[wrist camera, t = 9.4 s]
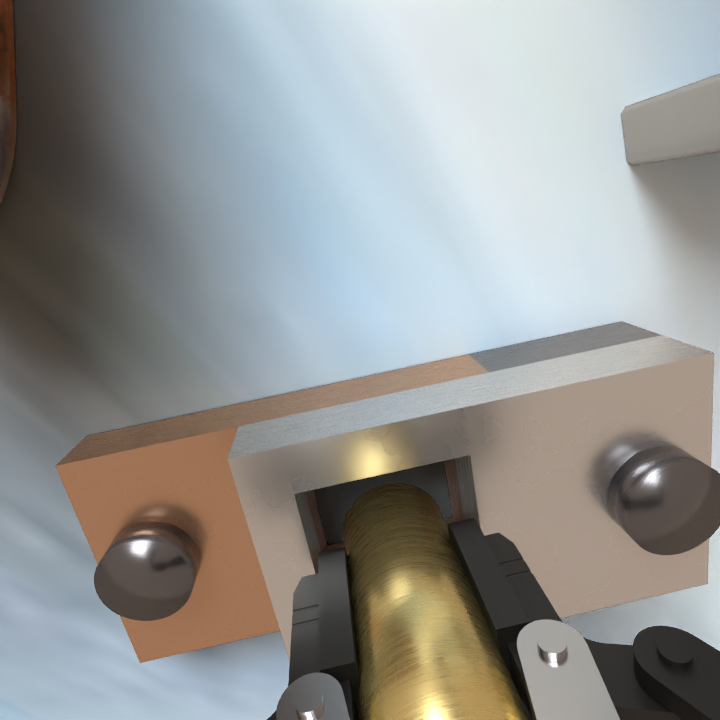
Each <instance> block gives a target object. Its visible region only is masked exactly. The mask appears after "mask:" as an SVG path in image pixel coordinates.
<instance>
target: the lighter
mask: <svg viewBox="0 0 720 720" xmlns="http://www.w3.org/2000/svg"><path fill="white" fill-rule="evenodd" d="M621 119H622V127H623V135H624V142H625V150H626V158H627V162H628V163H630V164H631V165H639V164H645V163H652V162H658V161H664V160H671V159H677V158H683V157H689V156H696V155H702V154H708V153H715V152H720V74H717V75H714V76H712V77H709V78H706V79H703V80H700V81H697V82H694V83H692V84H689V85H686V86H683V87H680V88H677V89H674V90H672V91H669V92H666V93H663V94H660V95H657V96H654V97H652V98H649V99H646V100H643V101H640V102H637V103H634V104H632V105H629V106H626V107H625V108H624V110H623V112H622V113H621Z"/></svg>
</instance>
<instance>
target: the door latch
mask: <svg viewBox="0 0 720 720" xmlns="http://www.w3.org/2000/svg"><path fill="white" fill-rule="evenodd" d="M713 374H714V353H713V352H710V351H707V350H704V349H701V348H698V347H695V346H692V345H689V344H686V343H684V342H681V341H678V340H675V339H672V338H669V337H666V336H663V335H660V334H657V333H654V332H651V331H648V330H645V329H642V328H639V327H636V326H634V325H631V324H628V323H625V322H617V323H613V324H608V325H603V326H599V327H594V328H589V329H585V330H580V331H575V332H571V333H566V334H561V335H557V336H552V337H547V338H543V339H538V340H533V341H529V342H524V343H519V344H515V345H510V346H505V347H501V348H496V349H491V350H487V351H482V352H477V353H473V354H468V355H463V356H459V357H454V358H449V359H445V360H440V361H435V362H430V363H426V364H421V365H416V366H412V367H407V368H402V369H398V370H393V371H388V372H384V373H379V374H374V375H370V376H365V377H360V378H356V379H351V380H346V381H342V382H337V383H332V384H328V385H323V386H318V387H314V388H309V389H304V390H300V391H295V392H290V393H286V394H281V395H276V396H272V397H267V398H262V399H258V400H253V401H248V402H244V403H239V404H234V405H230V406H225V407H220V408H216V409H211V410H206V411H202V412H197V413H192V414H188V415H183V416H178V417H174V418H169V419H164V420H160V421H155V422H150V423H146V424H141V425H136V426H132V427H127V428H122V429H118V430H113V431H108V432H104V433H99V434H94V435H90V436H86V437H85V438H84V439H83V440H82V441H81V442H80V443H79V444H78V445H77V446H76V447H75V448H74V449H73V450H72V451H71V452H69V453H68V454H67V455H66V456H65V457H64V458H63V459H62V460H61V461H60V462H59V463H58V464H57V465H56V468H57V471H58V473H59V475H60V478H61V480H62V482H63V485H64V487H65V489H66V492H67V494H68V496H69V499H70V501H71V503H72V506H73V508H74V510H75V513H76V515H77V517H78V520H79V522H80V524H81V526H82V529H83V531H84V533H85V536H86V538H87V540H88V543H89V545H90V547H91V550H92V552H93V554H94V557H95V559H96V561H97V564H98V566H97V568H96V571H95V575H94V585H95V589H96V592H97V594H98V596H99V598H100V599H101V601H102V602H103V603H104V604H105V605H106V606H107V607H108V608H109V609H110V610H111V611H113V612H115V613H116V614H118V615H120V617H121V620H122V622H123V624H124V626H125V629H126V631H127V633H128V636H129V638H130V640H131V643H132V645H133V647H134V650H135V652H136V654H137V657H138V659H139V661H140V663H142V662H146V661H150V660H155V659H159V658H163V657H168V656H172V655H176V654H181V653H185V652H189V651H194V650H198V649H202V648H207V647H211V646H215V645H220V644H224V643H228V642H233V641H237V640H241V639H246V638H250V637H254V636H259V635H263V634H268V633H272V632H276V631H281V634H282V638H283V641H284V644H285V647H286V651H287V654H288V657H289V660H290V649H291V629H292V614H293V611H292V610H293V593H294V591H295V589H296V587H297V585H298V583H299V581H300V579H301V578H302V577H303V576H308V575H312V574H317V573H318V552H322V551H326V550H331V549H335V548H339V547H344V542H341V543H337V544H332V545H327V541H326V537H325V533H324V529H323V525H322V521H321V517H320V513H319V510H318V506H317V502H316V498H315V494H314V489H319V488H323V487H328V486H332V485H337V484H341V483H346V482H350V481H355V480H359V479H364V478H369V477H373V476H378V475H382V474H387V473H391V472H396V471H400V470H405V469H409V468H414V467H418V466H423V465H427V464H432V463H436V462H441V461H444V464H445V470H446V477H447V483H448V489H449V496H450V502H451V508H452V515H453V517H452V518H448V519H444V522H445V524H446V526H447V529H448V523H451V522H456V521H460V520H465V519H469V518H475V519H476V521H477V523H478V525H479V527H480V528H481V530H482V532H483V534H484V536H485V535H490V534H494V533H498V532H499V533H500V534H502V535H503V536H504V537H506V538H507V539H509V540H510V541H511V542H513V543H514V544H515V546H516V547H517V549H518V551H519V552H520V554H521V555H522V557H523V560H524V561H525V562H526V564H527V565H528V567H529V568H530V571H531V573H533V575H534V577H535V578H536V580H537V582H538V583H539V585H540V586H541V588H542V590H543V591H544V593H545V595H546V596H547V598H548V599H549V601H550V603H551V604H552V606H553V608H554V609H555V611H556V612H557V614H558V616H559V617H560V618H563V617H568V616H572V615H576V614H580V613H585V612H589V611H593V610H597V609H602V608H606V607H610V606H615V605H619V604H623V603H627V602H632V601H636V600H640V599H644V598H649V597H653V596H657V595H662V594H666V593H670V592H674V591H679V590H683V589H687V588H691V587H696V586H700V585H704V584H708V554H709V538H710V537H711V536H712V535H713V534H714V532H715V531H716V530H717V529H718V528H719V526H720V474H719V473H718V472H717V471H716V470H714V469H713V468H711V446H712V410H713Z"/></svg>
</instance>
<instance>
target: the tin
mask: <svg viewBox="0 0 720 720" xmlns="http://www.w3.org/2000/svg"><path fill="white" fill-rule="evenodd" d="M16 134H17V106H16V80H15V47H14V19H13V0H0V204H1V202H2V199H3V196H4V194H5V191H6V188H7V184H8V181H9V177H10V174H11V171H12V165H13V160H14V154H15V144H16Z"/></svg>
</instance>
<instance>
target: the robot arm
mask: <svg viewBox="0 0 720 720" xmlns="http://www.w3.org/2000/svg"><path fill="white" fill-rule="evenodd" d="M448 533H449V536H450V538H451V541H452V543H453V545H454V548H455V550H456V552H457V555H458V557H459V559H460V562H461V564H462V566H463V569H464V571H465V573H466V576H467V578H468V580H469V583H470V585H471V587H472V590H473V592H474V594H475V597H476V599H477V601H478V604H479V606H480V609H481V611H482V613H483V616H484V618H485V620H486V623H487V625H488V627H489V630H490V632H491V634H492V637H493V639H494V641H495V644H496V646H497V648H498V651H499V653H500V654H501V656H502V657H503V659H504V661H505V663H506V666H507V668H508V670H509V673H510V675H511V677H512V680H513V682H514V684H515V687H516V689H517V691H518V694H519V696H520V698H521V701H522V703H523V705H524V708H525V710H526V712H527V714H528V717H529V719H530V720H720V651H718V650H717V649H715V648H713V647H712V646H710V645H708V644H707V643H705V642H703V641H702V640H700V639H699V638H697V637H695V636H693V635H692V634H690V633H688V632H685V631H683V630H680V629H677V628H674V627H668V626H653V627H648V628H646V629H644V630H642V631H641V632H639V633H638V634H637V636H636V637H635V639H634V643H633V645H619V644H606V643H599V642H594V641H591V640H588V639H585V638H583V637H582V635H581V634H580V633H579V632H578V631H577V630H575V629H574V628H572V627H571V626H569V625H567V624H565V623H563V622H562V620H561V619H560V617H559V616H558V614H557V612H556V611H555V609H554V608H553V606H552V604H551V603H550V601H549V599H548V598H547V596H546V595H545V593H544V591H543V590H542V588H541V586H540V585H539V583H538V582H537V580H536V578H535V577H534V575H533V573H531V571H530V568H529V567H528V565H527V564H526V562H525V561H524V560H523V557H522V555H521V554H520V552H519V551H518V549H517V547H516V546H515V544H514V543H513V542H511V541H510V540H509V539H507V538H506V537H504V536H503V535H502V534H500V533H499V532H498V533H494V534H490V535H485V536H484V534H483V532H482V530H481V528H480V527H479V525H478V523H477V521H476V519H475V518H469V519H465V520H460V521H456V522H451V523H448ZM292 611H293V614H292V629H291V649H290V668H289V684H288V687H287V689H286V690H285V691H284V693H283V694H282V696H281V698H280V700H279V702H278V705H277V710H276V711H275V712H274V713H273V714H272V715H271V717H269V718H268V719H267V720H361V718H360V708H359V689H360V674H359V665H358V655H357V645H356V635H355V625H354V616H353V606H352V596H351V586H350V577H349V567H348V557H347V552H346V549H345V546H344V547H339V548H335V549H331V550H326V551H322V552H318V573H317V574H312V575H308V576H303V577H302V578H301V579H300V581H299V583H298V585H297V587H296V589H295V591H294V593H293V610H292Z"/></svg>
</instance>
